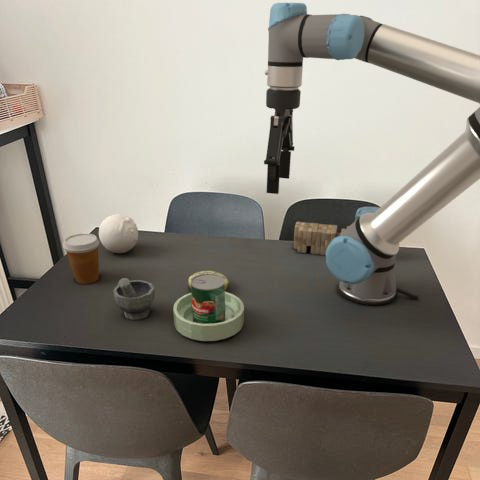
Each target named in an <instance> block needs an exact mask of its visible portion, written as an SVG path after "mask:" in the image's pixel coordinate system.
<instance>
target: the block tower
mask: <svg viewBox="0 0 480 480" xmlns="http://www.w3.org/2000/svg"><path fill="white" fill-rule="evenodd" d="M349 226H350V225H347V226H346V228H341V230H340V232H338V224H325V223H324V224H323V223H318V222H316V223H315V222H304V221H303V222H302V221H296V222H295V225H294V234H293V249H294V250H296V253H299V254H301V253H302V254H306V253H307V252H308V249H309V247H310V254H312V255H320V256H325V254H326V250H327V247H328V245H329V244H330V243H331V241H332V240H333V239H334V238H336V237H338V236H339V235H340V234H342V233H343V232H344V231H345V230H346V229H347V228H348V227H349Z"/></svg>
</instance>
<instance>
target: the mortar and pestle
mask: <svg viewBox="0 0 480 480" xmlns="http://www.w3.org/2000/svg"><path fill="white" fill-rule="evenodd" d="M112 293H113V297H114V300H115V303H116V304H117V306H118V307H119V308H120V309H121V311H123V315H124V316H125V317H124V318H126V319H128V320H132V321H135V320H142V319H144V318H147V317H148V315H149V314H150V308H151V306H152V304H153V302H154V300H155V294H156V291H155V287H154V285H153V284H152V283H151V282H149V281H146V280H142V279H135V280H130V279H129V278H127V277H122V278H121V279H119V281H118V283H117V285H116V286H115V287H114V288H113V290H112Z"/></svg>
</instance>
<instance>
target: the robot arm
mask: <svg viewBox="0 0 480 480" xmlns="http://www.w3.org/2000/svg"><path fill="white" fill-rule="evenodd" d="M307 7H308V6H307V5H306V3H304V2H275V3H273V4H272V5H271V7H270V11H269V21H268V27H267V31H268V45H267V48H268V49H267V69H265V71H264V75H265V76H267V77H266V86H268V87H269V88H267V89H266V91H265V92H266V93H265V95H266V96H265V106H266V107H267V108H268V109H271V110H272V109H274V115H270V123H269V132H268V141H267V149H266V155H265V159H264V160H263V164H264V165H267V169H266V170H267V172H266V173H267V174H266V194H273V195H279V194H280V179H287V180H288V179H290V174H291V173H290V172H291V159H292V158H291V157H292V152H294V151H295V146H294V130H293V129H294V128H293V118H294V117H293V114H294V110H297V109H298V108H300V106H301V94H302V93H301V92H302V91H301V90H300V89H299V88H300V87H301V86H302V83H303V70H304V69H303V68H304V66H303V65H304V64H303V63H304V59H309V58H310V59H322V60H323V59H326V60H336V61H344V60H353V59H356V60H358V61H361V62H364V63H367V64H371V65H373V66H377V67H378V68H381V69H385V70H387V71H390V72H391V73H395V74H398V75H401V76H404V77H406V78H408V79H412V80H415V81H416V82H419V83H422V84H425V85H428V86H431V87H432V88H433V87H434V88H437V89H439V90H442V91H444V92H447V93H450V94H453V95H455V96H458V97H461V98H464V99H467V100H469V101H472V102H475V103H477V104H479V105H480V54H477V53H474V52H471V51H468V50H465V49H462V48H459V47H455V46H452V45H449V44H446V43H443V42H439V41H437V40H434V39H431V38H428V37H424V36H421V35H419V34H416V33H412V32H410V31H406V30H403V29H400V28H397V27H394V26H391V25H388V24H384V23H381V22H379V21H375V20H374V19H372V18H371V17H368V16H366V15H365V16H364V15H358V14H351V13H340V14H338V13H337V14H336V13H335V14H310V13H309V14H308V9H307ZM479 180H480V106H479V107H478V108H477V109H475V110H474V112H472V114H470V115H469V116H468V117H467V118H466V124H465V130H464V132H463V133H461V134H460V135H459V136H458V137H457V138H456V139H454V140H453V142H451V143H450V144H449V145H448V146H447V147H446V148H444V150H443V151H441V152H439V154H438V155H436V157H434V158H433V160H431V161H430V162H429V163H428V164H427V165H426V166H425V167H423V168H422V169H421V170H420V171H419V172H418V173H417V174H416V175H415V176H413V178H411V179H410V180H409V181H408V182H407V183H405V185H404V186H402V188H400V189H399V190H398V191H397V192H396V193H394V195H392V196H391V197H390V198H389V199H387V200H386V202H385V203H383V204H382V205H381V206H380V207H379V206H362V207H359V208H358V209H357V210H356V212H355V215H354V221H353V222H352V223H351V224H350V225H348V226H349V227H348V228H347V227H346V228H345V229H346V230H345V231H344V232H343V233H342V234H340V235H339V236H338V237H336V238H334V239H333V240H332V241H331V243H330V244H329V245H328V247H327V250H326V254H325V255H324V256H325V264H326V266H327V268H328V270H329V272H330V273H331V274H332V275H333V277H335V278H336V279H337V280H339V282H338V292H339V294H340V295H341V296H342V297H344V299H347V300H348V301H351V302H353V303H357V304H360V305H367V306H381V305H386V304H389V303H391V302H392V301H393V300H395V298H396V295H397V293H399V294H402V295H405V296H407V297H409V298H412V299H415V300H418V299H419V295H416V294H413V293H411V292H409V291H406V290H403V289H400V288H398V287H397V282H396V276H395V265H396V259H397V254H398V252H399V250H400V243H401V242H402V241H404V240H405V239H406V238H407V237H409V236H411V234H413V233H414V232H415V231H416V230H417V229H419V228H420V227H421V226H423V224H425V223H426V222H427V221H429V220H430V219H432V218H433V217H434V216H435V215H436V214H437V213H439V212H440V211H441V210H443V209H444V208H445V207H446V206H448V205H449V204H450V203H451V202H452V201H454V200H455V199H456V198H458V197H459V196H460V195H461V194H462V193H464V192H465V191H466V190H468V189H469V188H470V187H471V186H473V185H474V184H475V183H477V182H478V181H479Z"/></svg>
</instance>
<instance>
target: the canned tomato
mask: <svg viewBox="0 0 480 480" xmlns="http://www.w3.org/2000/svg"><path fill="white" fill-rule="evenodd" d="M190 283H191V288H190V293H191V296H192V314H193V315H192V316H193V322H195V323H201V324H215V323H220V322H224V321H225V292H226V291H225V280H224V278H223V277H221V276H219V275H216V274H200V275H197V276H195V277H193V278H192V279H191V282H190Z"/></svg>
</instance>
